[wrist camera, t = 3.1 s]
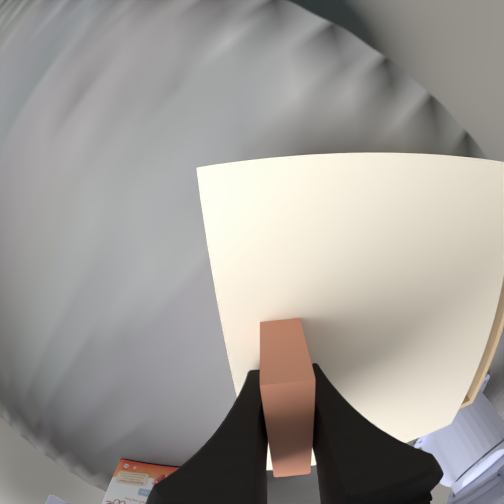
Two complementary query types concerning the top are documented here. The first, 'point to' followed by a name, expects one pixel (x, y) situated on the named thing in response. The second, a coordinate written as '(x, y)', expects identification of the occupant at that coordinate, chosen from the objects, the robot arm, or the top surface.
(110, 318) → the top surface
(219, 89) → the top surface
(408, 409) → the lid
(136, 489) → the cracker box
